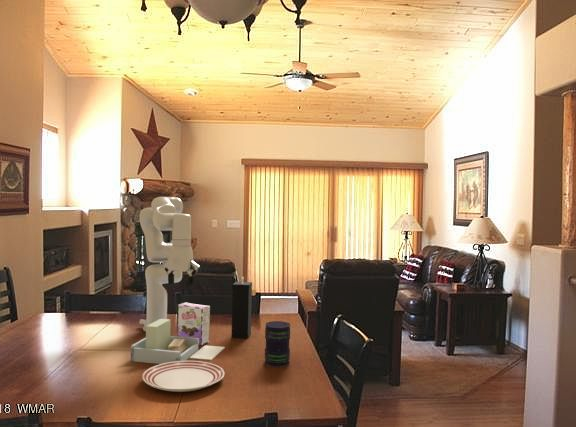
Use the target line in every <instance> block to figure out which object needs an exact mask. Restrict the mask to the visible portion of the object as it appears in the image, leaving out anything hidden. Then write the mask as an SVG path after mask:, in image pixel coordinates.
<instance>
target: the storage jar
mask: <svg viewBox="0 0 576 427" xmlns="http://www.w3.org/2000/svg"><path fill="white" fill-rule="evenodd" d="M264 334H265V335H264V337H265V348H264V364H265V365H266V366H269V367H271V368H272V367H273V368H281V367H282V368H283V367H286V366H288V365H289V366H290V357H291V353H290V352H291V349H290V339H291V323H289V322H287V321H282V320H281V321H280V320H279V321H278V320H274V321H268V322H265V330H264Z"/></svg>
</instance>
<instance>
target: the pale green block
mask: <svg viewBox="0 0 576 427" xmlns="http://www.w3.org/2000/svg"><path fill="white" fill-rule="evenodd" d="M170 336H171V319H169V318H167V319H159V320H157V321H155V322H153V323H151V324H149V325H147V326H146V331H145V338H146V348H147V349H158V350H168V346H169V345H170Z"/></svg>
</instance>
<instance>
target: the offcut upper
mask: <svg viewBox="0 0 576 427" xmlns="http://www.w3.org/2000/svg"><path fill="white" fill-rule="evenodd" d="M184 347H185V339H174V340H173V341H172V342H171V344H170V345H169V346H168V350H170V351H182V349H183V348H184Z"/></svg>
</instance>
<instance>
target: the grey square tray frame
mask: <svg viewBox="0 0 576 427" xmlns="http://www.w3.org/2000/svg"><path fill="white" fill-rule="evenodd" d="M174 339H185V346H187V350H186V351H184V352H183V353H182V354H181V351H170V350H158V349H147V348H146V337H144V338H142V339H140V340H139V341H137V342H135V343H132V344H131V345H130V362H137V363H148V364H156V365H159V364H163V363H168V362H174V361H188V359H191V358H190V357H191V356H192V355H193V354H195V353H196V352H197V351H198V350H200V345H199V338H190V337H178V335H177V336H176V335H170V344H171V342H172V341H173V340H174Z"/></svg>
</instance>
